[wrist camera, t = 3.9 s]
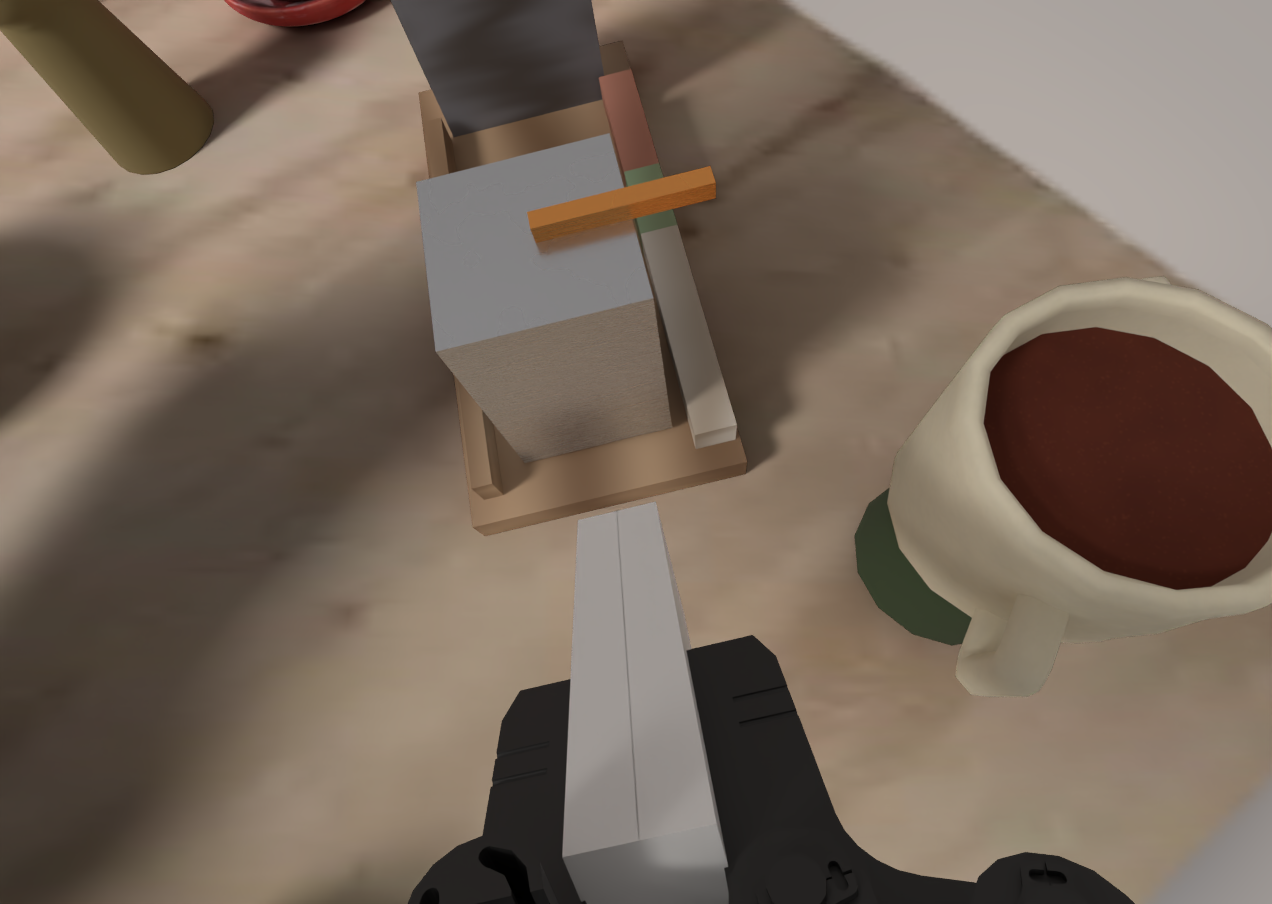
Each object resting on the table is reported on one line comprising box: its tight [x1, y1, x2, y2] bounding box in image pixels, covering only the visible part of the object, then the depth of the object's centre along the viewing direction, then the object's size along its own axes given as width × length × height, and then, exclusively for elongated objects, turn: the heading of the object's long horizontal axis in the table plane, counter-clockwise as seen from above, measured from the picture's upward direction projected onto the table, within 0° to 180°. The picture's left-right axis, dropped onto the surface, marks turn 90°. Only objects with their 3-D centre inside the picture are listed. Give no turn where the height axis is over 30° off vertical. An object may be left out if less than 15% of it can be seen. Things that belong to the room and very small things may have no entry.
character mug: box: [855, 276, 1272, 697], centre depth 19 cm, size 11×7×13 cm, turn 151°
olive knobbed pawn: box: [0, 0, 214, 175], centre depth 32 cm, size 6×6×11 cm
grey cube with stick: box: [416, 133, 716, 463], centre depth 23 cm, size 8×8×10 cm
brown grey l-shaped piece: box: [391, 0, 747, 536], centre depth 26 cm, size 11×24×12 cm, turn 12°
